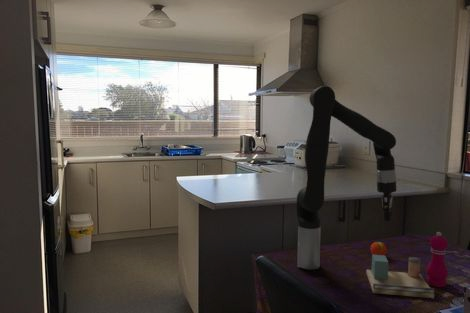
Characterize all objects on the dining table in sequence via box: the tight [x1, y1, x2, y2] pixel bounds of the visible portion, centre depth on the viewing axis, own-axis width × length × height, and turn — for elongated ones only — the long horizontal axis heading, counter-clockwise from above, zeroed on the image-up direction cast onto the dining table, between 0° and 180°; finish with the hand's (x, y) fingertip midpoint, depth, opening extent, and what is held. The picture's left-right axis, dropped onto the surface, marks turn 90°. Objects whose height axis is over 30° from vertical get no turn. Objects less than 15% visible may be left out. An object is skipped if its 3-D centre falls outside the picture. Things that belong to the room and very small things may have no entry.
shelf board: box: [366, 269, 436, 299], centre depth 142 cm, size 20×18×3 cm
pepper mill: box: [426, 231, 449, 288], centre depth 142 cm, size 7×7×20 cm
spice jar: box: [407, 256, 421, 278], centre depth 146 cm, size 4×4×7 cm
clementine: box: [370, 241, 388, 256], centre depth 171 cm, size 8×7×7 cm
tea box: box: [370, 254, 389, 280], centre depth 146 cm, size 5×7×7 cm
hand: (388, 218), depth 159 cm, fingers open, 8 cm apart
